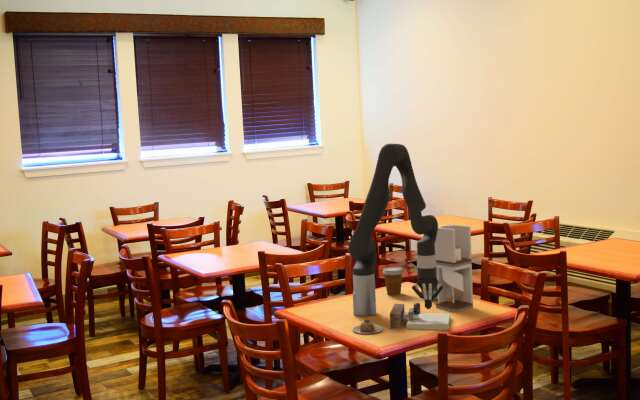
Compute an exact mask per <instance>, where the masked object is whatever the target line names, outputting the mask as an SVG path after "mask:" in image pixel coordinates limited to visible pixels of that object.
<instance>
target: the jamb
mask: <svg viewBox="0 0 640 400" xmlns="http://www.w3.org/2000/svg"><path fill="white" fill-rule="evenodd" d="M403 312H406V311H405V303H394V304H393V306H392V308H391V311H390V312H389V326H390V327H389V329H390V330H401V329H402V326H403V323H404V321H405V319H403V316H402V314H403Z"/></svg>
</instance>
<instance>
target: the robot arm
mask: <svg viewBox="0 0 640 400" xmlns="http://www.w3.org/2000/svg"><path fill="white" fill-rule="evenodd" d="M409 153H410V152H409V151H408V148H407V147H406V146H405V145H403V144H402V143H385V144H384V145H383V146H382V147H381V148H380V150H379V153H378V157H377V161H376V165H375V170H374V174H373V178H372V180H371V183H370V187H369V189H368V193H367V195H366V197H365V201H364V204H363V207H362V210H361V214H360V215H359V216H360V217H359V220H358V223H357V226H356V227H355V231H354V232H353V235H352V236H351V238H350V241H349V244H348V253H349V256H350V257H351V258H352V259H354V260H356V261H355V263H354V265H353V267H352V283H353V284H352V286H353V287H352V288H353V292H352V303H353V304H352V308H353V309H352V310H353V315H354V316H361V317H366V316H367V317H368V316H373V315H376V314H377V301H376V300H377V298H376V278H375V275H376V273H375V269H376V265H377V249H376V248H377V247H376V243H375V240H374V239H373V238H372V235H373V233H374V230H375V229H376V227H377V226H378V224H379V223H380V221H381V220H382V218H383V217H384V215H385V213H386V210H387V208H388V205H389V201H390V198H391V197H390V196H391V195H390V193H391V192H390V185H389V183H390V182H389V181H390V176H391V173H392V170H393V168H394V167H396V169H397V170H398V172H399V174H400V177H401V192H402V197H403V200H404V202H405V204H406V206H407V208H408V212H409V214H408V215H409V220H410V225H411V226H410V227H411V229H412V231H413V232H414V233H415V234H417V235H421V236H422V235H423V237H422V238H421V239H418V241H417V242H416V251H417V252H416V254H417V255H416V270H417V279H416V283H415V284H413V285H412V287H411V289H412V291H414V293H415V294H416V295H417V296H418V297H419V298H420V299H421V300H424V307H425V308H426V310H431V308H433V300H432V299H434V298H436V297H437V296H438V294H439V293H440V292H441V290H442V289H443V287H444V286H443V285H441V284H440V283H438V280H437V269H436V265H437V263H436V257H435V241H436V236H437V231H438V227H439V223H438V220H437V218H436V216H434V215H432V214H428V215H422V211H424V210H425V209H426V208H427V204H426V201H425V200H424V198H423V195H422V193H421V191H420V188H419V186H418V182H417V180H416V176H415V173H414V172H415V171H414V168H413V165H412V161H411V157H410V154H409ZM436 286H437V289H438V290H437V291H436V292H435V294H434V295H432V291H433V290H434V289H435V287H436ZM421 290H422V291H423V293H424V295H423V294H422V293H421ZM427 291H429V299H428V294H427Z"/></svg>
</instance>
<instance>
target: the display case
mask: <svg viewBox="0 0 640 400" xmlns="http://www.w3.org/2000/svg"><path fill="white" fill-rule="evenodd" d="M471 228H472V227H471V226H468V225H460V224H459V225H458V224H451V223H450V224H445V225H440V226H439V225H438V231H437V236H436V241H435V257H436V263H437V265H436V268H437V280H438V283H440V284H441V285H443V286H444V287H443V289H442V290H441V292H440V293H439V294H438V300H437V302H436V303H435V308H436V309H438V308H439V309H440V310H444V311H448V312H453V313H459V312H462V311H467V310H471V309H473V308H474V296H473V294H474V292H473V291H474V290H473V268H472V267H473V264H472V263H473V262H472V260H473V259H472V234H471V232H472V231H471ZM437 290H438V289H437Z"/></svg>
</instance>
